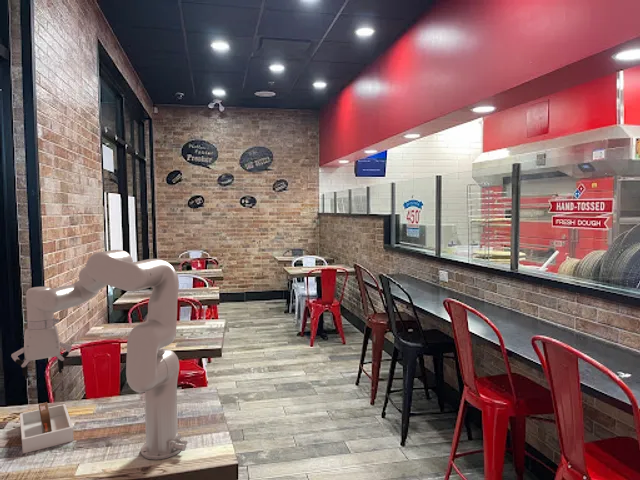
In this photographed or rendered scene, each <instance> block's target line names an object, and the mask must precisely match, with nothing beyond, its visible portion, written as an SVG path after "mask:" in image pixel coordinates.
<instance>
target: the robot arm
mask: <svg viewBox="0 0 640 480" xmlns="http://www.w3.org/2000/svg"><path fill="white" fill-rule="evenodd" d="M178 276H179V275H178V273H177V271H176V269H175V268H174V267H173V265H172V264H170V263H169V262H168V261H166V260H164V259H160V258H148V259H142V260H140V261H139V260H138V261H133V258H132V256H131V255H130V253H129V252H127V251H125V250H123V249H112V250H105V251H104V250H103V251H99V252H95V253H94V254H91V256H89V257H88V259H87V261H86V264H85V267H83V268H82V269H81V270H80V271H79V273H78V280H77V281H75V282H74V283H72V284H68V285H67V284H66V285H64V286H59V287H53V288H52V287H49V286H34V287H30V288H29V289H27V290H26V294H25V296H26V297H25V298H26V299H25V300H26V318H27V328H25V331H24V336H23V337H24V338H23V339H24V340H23V342H24V343H23V347H21V348H20V349H18V350H17V351H14V352H13V353H11V356H10V357H11V358H12V360H13V361H14V362H15V363H16V364H17V365H19V366H20V367H21V368H22V377H25V380H28V379H29V369H28V364H29V362H31V361H36V360H43V359H49V358H54V357H56V358H57V369H58V373H59V374H61V373H62V370H64V369H65V368H64V361H65V359H66V358H67V357H68V356H69V354H70V352H71V350H72V349H73V346H72V345H71V344H67V343H66V342H65V343H64V342H62V341H60V335H59V331H58V327H57V326H58V325H56V324H59V323H60V319H59V318H55V315H54V314H55V313H57V312H61V311H64V310H67V309H70V308H74V307H77V306H80V305H82V304H84V303H85V302H87V301H89V300H90V299H92V298H95V296H97V294H99V292H100V291H101V290H102V289H104V288H105V287H107V286H110V287H113V288H116V289H120V290H123V291H126V292H139V291H142V290H145V289H149V288H152V291H151V294H150V296H149V299H148V302H147V303H148V304H147V318H146V321H143V322H141V323H139V324H137V325H135V326H134V327H133V328H132V329H131V330H130V332H129V335H128V336H127V341H126V359H125V360H126V363H125V364H126V365H125V366H126V367H125V368H126V369H125V375H126V380H127V384H128V387H130V389H131V390H132V391H134V392H136V393H138V394H139V393H140V394H141V393H143V394H144V415H145V418H144V419H145V421H144V422H145V443H144V444H142V446H141V448H140V454H141V456H142V457H143V458H145V459H148V460H156V461H158V460H163V459H164V460H165V459H168V458H171V457H174V456H176V455H178V454H179V453H181V451H182V452H185V450H186V449H187V444H188V441H187V440H186V439H185V440H184V439H182V435H181V433H179V427H178V426H179V424H178V423H179V422H178V418H179V417H178V379H179V372H180V362H179V361H180V360H179V357H178V355H177V354H176V353H175V352H174V351H173V350H171V349H169V348H166V347H168V346H170V345H172V344H173V342H174V341H175V339H176V336H177V321H178V320H177V319H178V298H179V290H180V289H179V287H180V281H179V280H180V279H179V277H178ZM61 348H64V349H65V351H64V352H63V353H62V354H61ZM22 354H24V359H23V360H22V359H20V357H18V356H20V355H22Z"/></svg>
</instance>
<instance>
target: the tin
mask: <svg viewBox="0 0 640 480" xmlns="http://www.w3.org/2000/svg"><path fill="white" fill-rule="evenodd" d="M48 407H49V405H48V402H47V401H46V402H43V403H40V404H38V410H39V411H40V419H41V426H42V433H47V432H51V431H52V428H51V420H50V414H49V409H48Z"/></svg>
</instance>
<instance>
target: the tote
mask: <svg viewBox="0 0 640 480" xmlns="http://www.w3.org/2000/svg"><path fill="white" fill-rule="evenodd" d="M48 409H49V414H50V420H51V428H52V431H51V432H47V433H42V426H41V419H40V411H39V409H35V410H31V411H25V412H21V413H19V424H20V437H21V447H22V448H21V449H22V454H27V453H30V452H31V453H32V452H34V451H38V450H43V449H47V448H50V447H54V446H59V445H62V444H66V443H70V442H74V441H75V440H74V426H73V423H72V420H71V418H70V414H69V410H68V408H67V405H66V404H65V403H63V404H58V405H53V406H48Z"/></svg>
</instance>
